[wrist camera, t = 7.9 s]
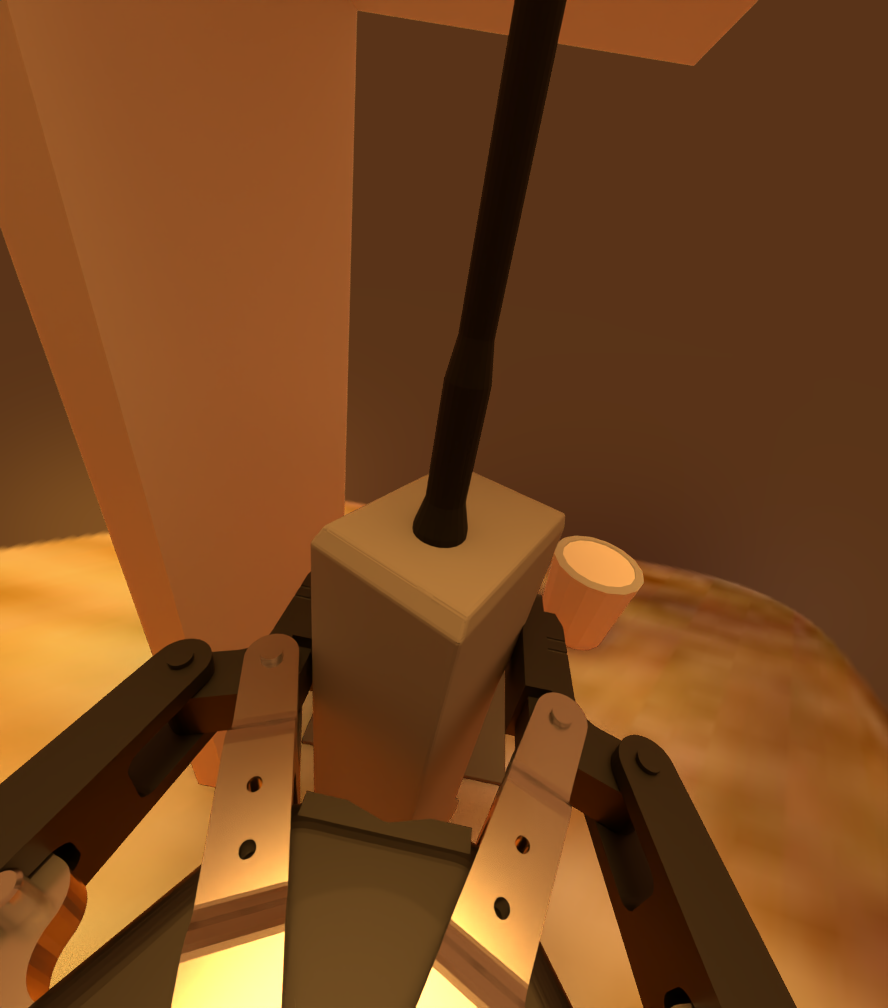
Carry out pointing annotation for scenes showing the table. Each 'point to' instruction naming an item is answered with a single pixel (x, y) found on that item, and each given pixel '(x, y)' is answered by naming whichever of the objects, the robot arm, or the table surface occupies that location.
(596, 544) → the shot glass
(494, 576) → the vintage mobile phone
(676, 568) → the table surface
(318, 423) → the overhang shelf
